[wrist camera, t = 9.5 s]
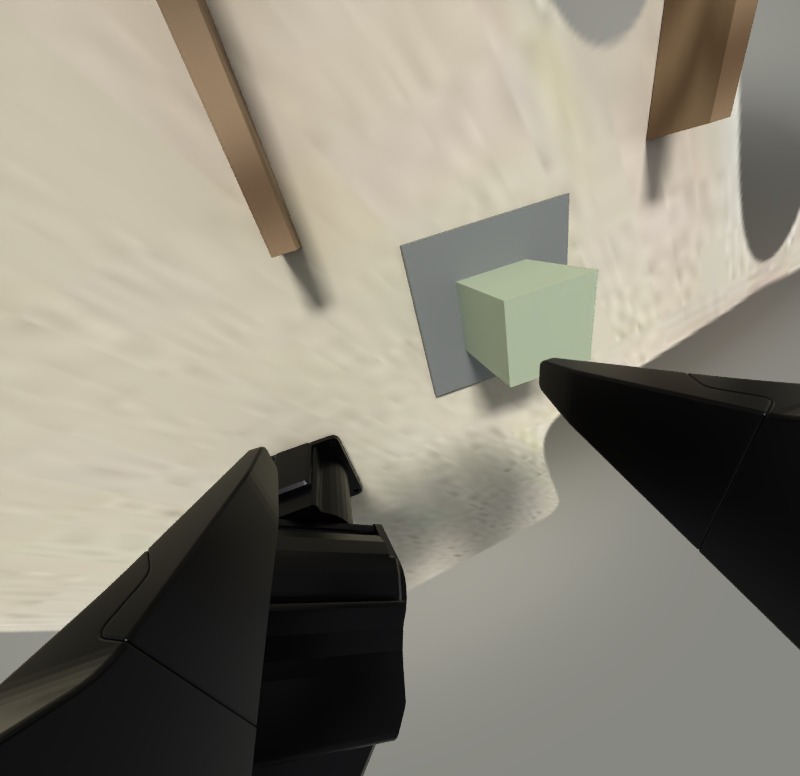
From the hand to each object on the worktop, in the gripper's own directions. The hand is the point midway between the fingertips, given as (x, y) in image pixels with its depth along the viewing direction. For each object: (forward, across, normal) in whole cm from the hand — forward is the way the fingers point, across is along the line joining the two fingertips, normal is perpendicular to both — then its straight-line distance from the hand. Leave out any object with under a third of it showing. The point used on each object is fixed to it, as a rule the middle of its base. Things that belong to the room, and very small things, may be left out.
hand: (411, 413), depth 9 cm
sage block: (+11, -9, +1) cm, 15 cm away
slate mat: (+12, -9, +1) cm, 15 cm away
